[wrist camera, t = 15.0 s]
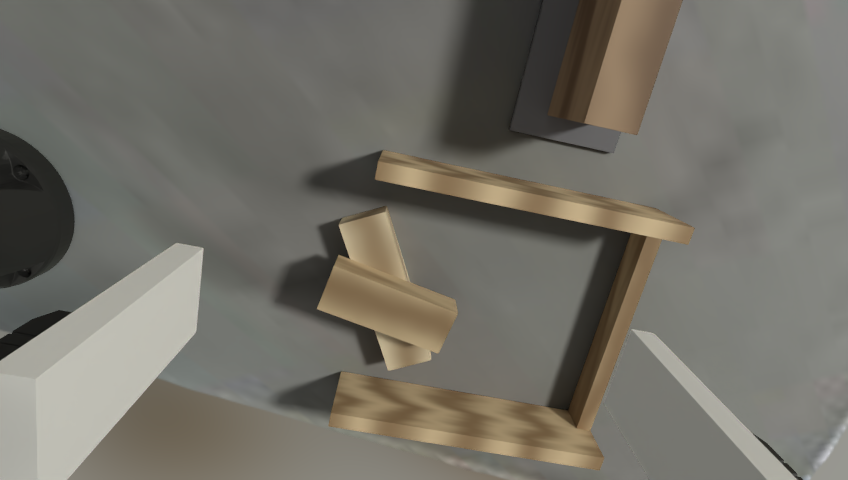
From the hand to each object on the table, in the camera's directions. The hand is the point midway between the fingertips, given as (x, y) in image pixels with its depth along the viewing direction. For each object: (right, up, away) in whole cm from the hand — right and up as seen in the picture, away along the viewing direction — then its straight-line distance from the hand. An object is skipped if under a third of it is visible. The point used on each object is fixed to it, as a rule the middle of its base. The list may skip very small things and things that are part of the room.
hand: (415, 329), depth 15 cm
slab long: (-3, -2, +35) cm, 36 cm away
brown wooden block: (+15, +21, +27) cm, 38 cm away
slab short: (-3, -3, +33) cm, 33 cm away
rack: (+7, -4, +36) cm, 37 cm away
